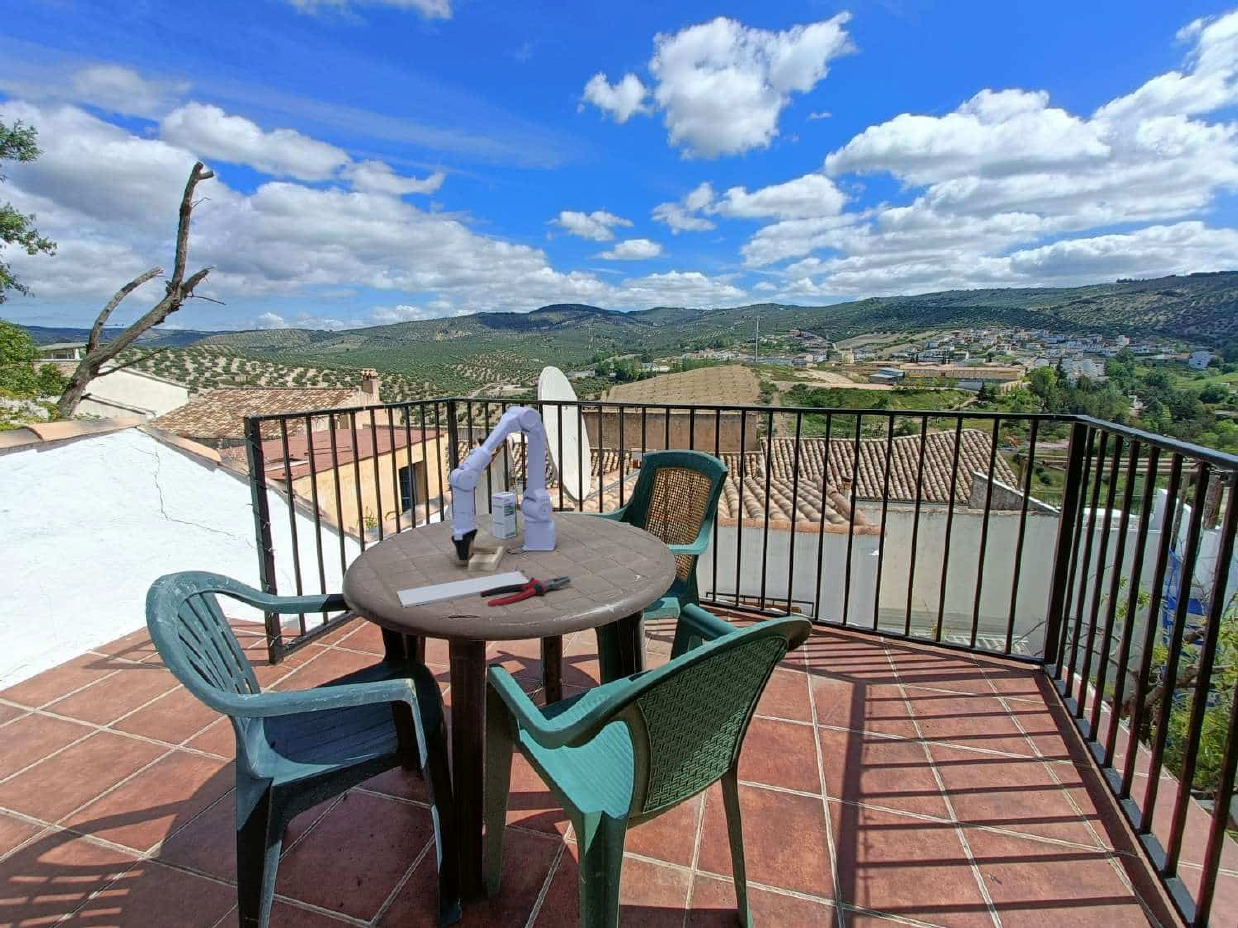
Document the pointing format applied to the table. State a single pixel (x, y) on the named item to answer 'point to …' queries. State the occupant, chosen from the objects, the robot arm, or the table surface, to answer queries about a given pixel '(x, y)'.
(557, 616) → the table surface
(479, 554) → the plank
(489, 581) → the baseboard
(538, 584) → the pliers
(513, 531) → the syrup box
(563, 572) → the table surface
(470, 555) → the wooden mallet
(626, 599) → the table surface
